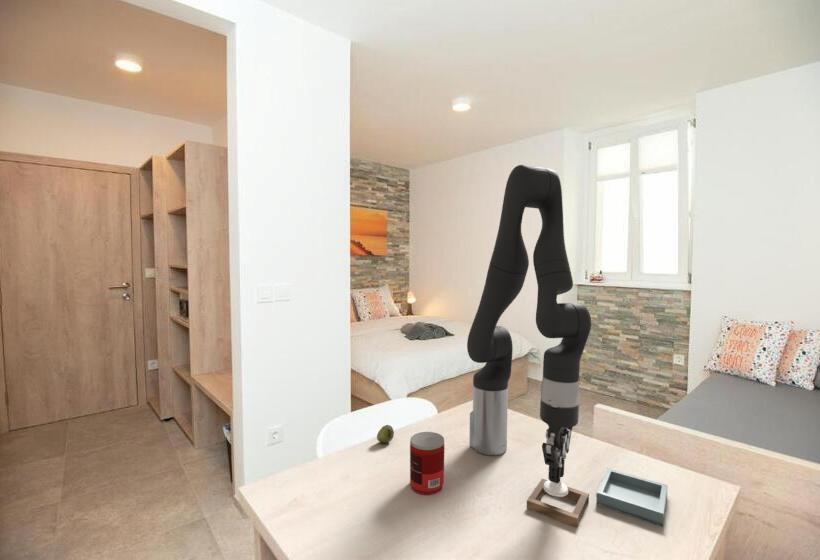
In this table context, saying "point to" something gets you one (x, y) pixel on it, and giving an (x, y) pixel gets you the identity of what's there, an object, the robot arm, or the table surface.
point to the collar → (556, 512)
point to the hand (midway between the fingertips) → (556, 478)
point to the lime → (385, 434)
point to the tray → (633, 496)
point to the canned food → (427, 462)
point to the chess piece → (555, 488)
